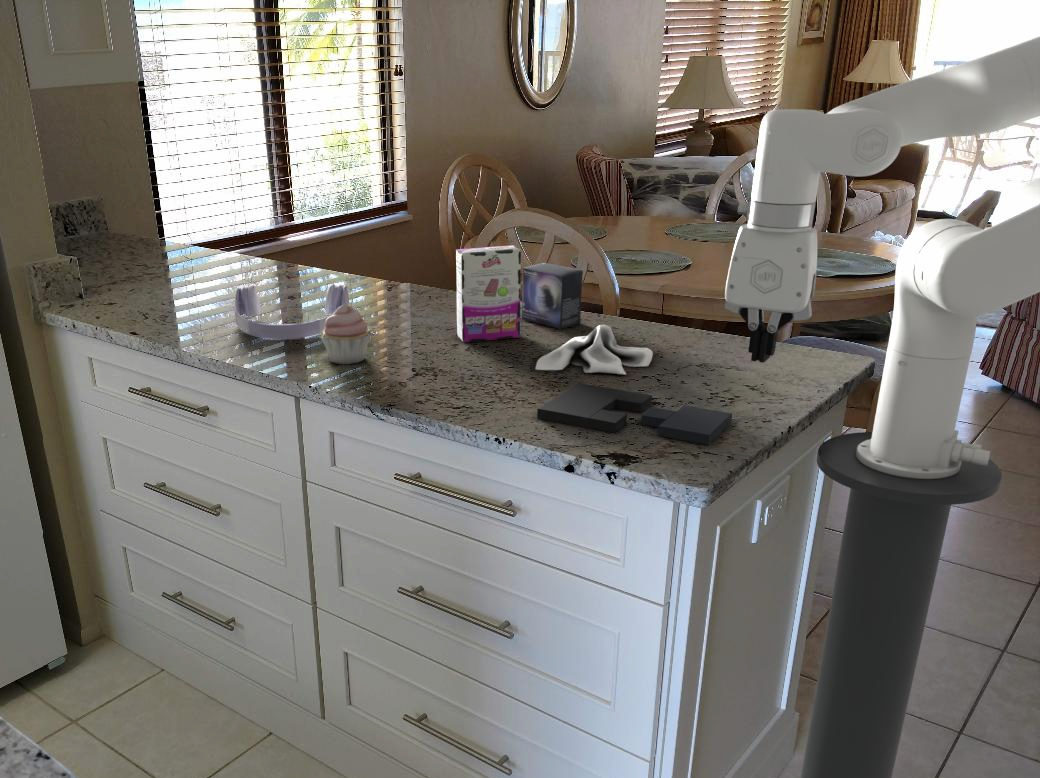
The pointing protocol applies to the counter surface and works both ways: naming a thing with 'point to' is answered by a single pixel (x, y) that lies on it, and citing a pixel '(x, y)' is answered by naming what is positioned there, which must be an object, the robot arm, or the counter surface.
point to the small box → (551, 295)
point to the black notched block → (593, 407)
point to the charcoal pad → (687, 423)
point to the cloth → (595, 354)
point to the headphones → (250, 306)
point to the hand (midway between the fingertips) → (760, 359)
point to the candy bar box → (488, 293)
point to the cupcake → (346, 336)
